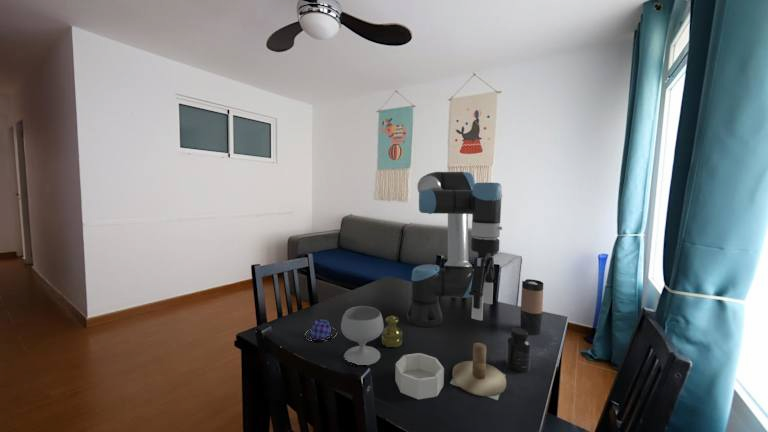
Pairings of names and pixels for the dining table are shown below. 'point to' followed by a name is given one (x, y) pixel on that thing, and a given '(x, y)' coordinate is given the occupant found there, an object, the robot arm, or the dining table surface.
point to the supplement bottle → (518, 351)
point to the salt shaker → (392, 333)
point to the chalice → (362, 333)
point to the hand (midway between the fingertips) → (482, 310)
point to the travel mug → (531, 306)
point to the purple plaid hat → (320, 329)
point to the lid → (479, 375)
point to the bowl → (419, 376)
